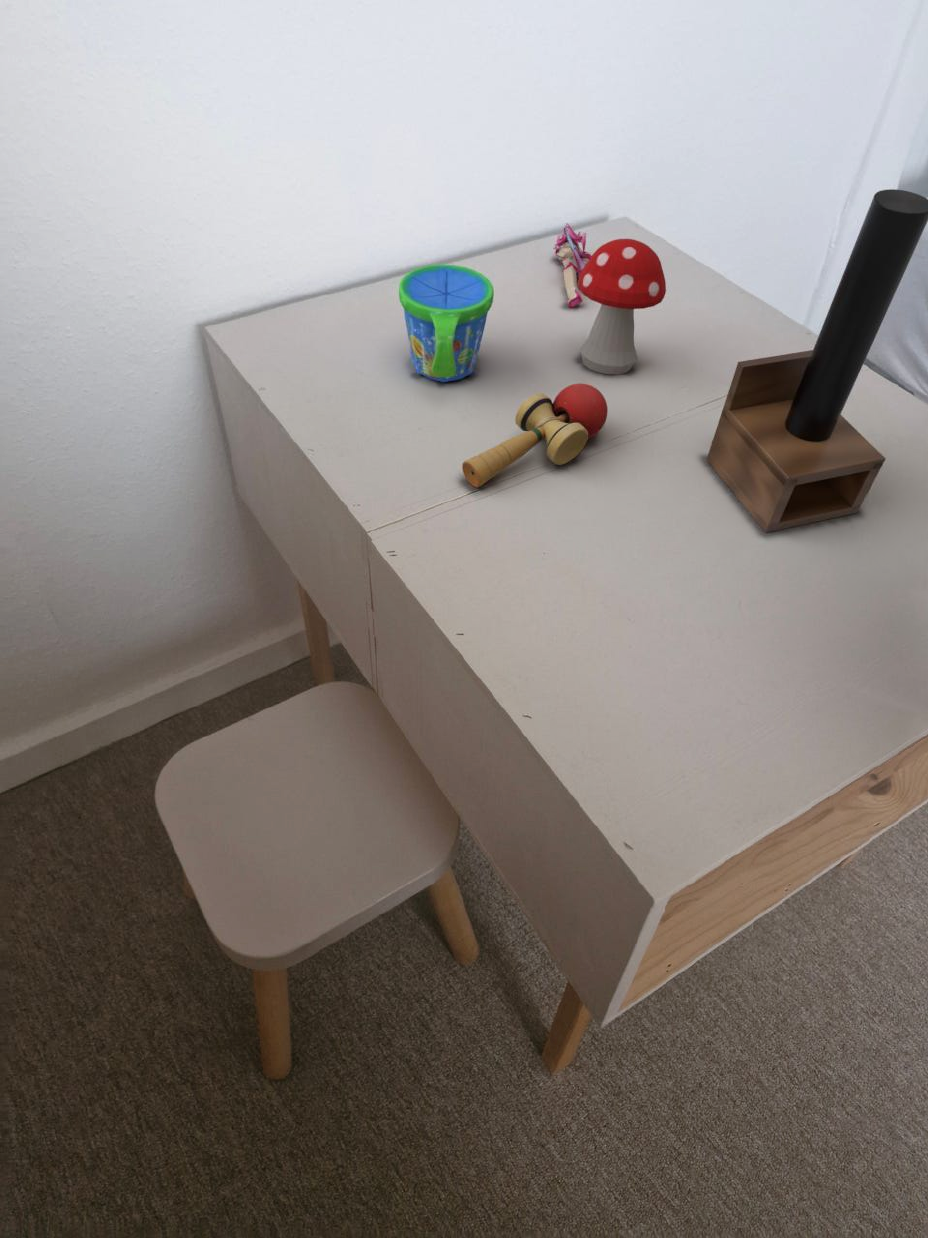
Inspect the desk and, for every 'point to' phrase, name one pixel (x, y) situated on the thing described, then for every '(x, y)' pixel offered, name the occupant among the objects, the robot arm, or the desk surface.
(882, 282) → the cylinder
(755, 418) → the shelf
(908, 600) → the desk surface
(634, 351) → the decorative mushroom
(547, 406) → the kendama
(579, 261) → the toy
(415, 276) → the snack cup
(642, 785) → the desk surface
